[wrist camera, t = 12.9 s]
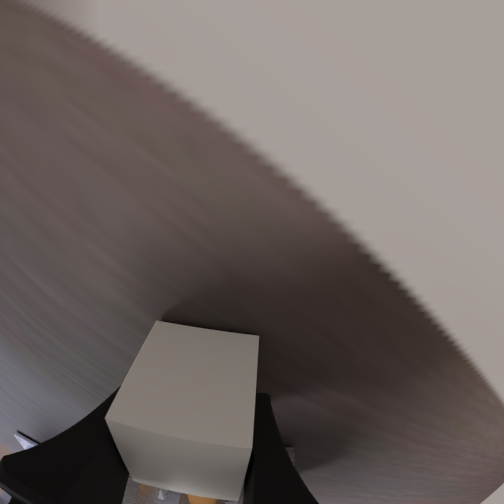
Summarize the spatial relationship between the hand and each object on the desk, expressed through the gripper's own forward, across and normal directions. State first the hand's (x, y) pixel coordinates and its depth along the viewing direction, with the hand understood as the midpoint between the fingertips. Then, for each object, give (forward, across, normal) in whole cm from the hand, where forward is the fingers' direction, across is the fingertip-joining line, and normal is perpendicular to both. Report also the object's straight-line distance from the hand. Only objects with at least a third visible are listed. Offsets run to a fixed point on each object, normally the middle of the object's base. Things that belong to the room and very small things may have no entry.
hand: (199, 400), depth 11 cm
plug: (+1, 0, +7) cm, 7 cm away
